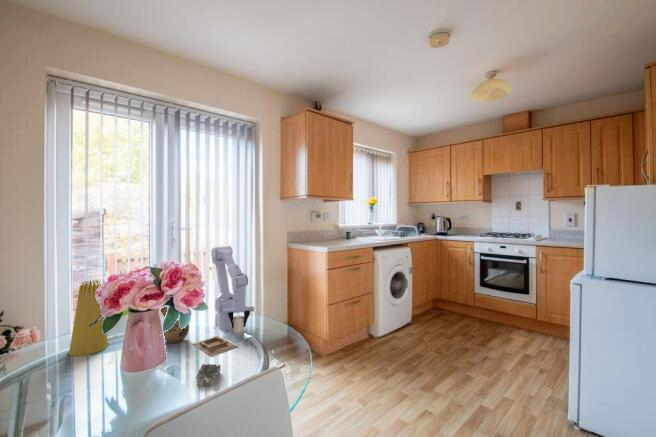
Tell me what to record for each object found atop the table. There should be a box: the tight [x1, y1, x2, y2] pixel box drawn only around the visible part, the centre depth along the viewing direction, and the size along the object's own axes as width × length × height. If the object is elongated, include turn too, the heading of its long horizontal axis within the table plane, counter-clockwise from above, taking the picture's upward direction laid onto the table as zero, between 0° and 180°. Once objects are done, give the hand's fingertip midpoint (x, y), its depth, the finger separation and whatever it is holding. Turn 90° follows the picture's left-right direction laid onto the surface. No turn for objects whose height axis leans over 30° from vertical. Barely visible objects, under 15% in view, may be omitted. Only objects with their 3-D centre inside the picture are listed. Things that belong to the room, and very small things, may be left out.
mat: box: [222, 331, 247, 344], centre depth 144 cm, size 11×11×1 cm
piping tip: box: [68, 279, 109, 357], centre depth 128 cm, size 14×14×30 cm
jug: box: [232, 315, 245, 334], centre depth 142 cm, size 9×5×7 cm, turn 19°
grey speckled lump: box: [195, 363, 221, 388], centre depth 107 cm, size 11×8×4 cm
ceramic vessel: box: [160, 307, 190, 344], centre depth 137 cm, size 16×9×25 cm, turn 93°
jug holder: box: [191, 335, 238, 358], centre depth 133 cm, size 18×13×2 cm
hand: (238, 326), depth 144 cm, fingers closed on jug, 5 cm apart
